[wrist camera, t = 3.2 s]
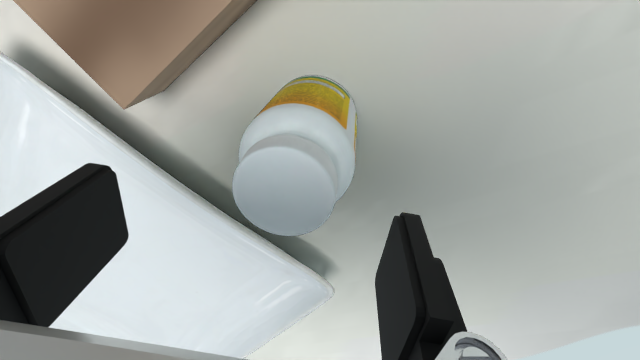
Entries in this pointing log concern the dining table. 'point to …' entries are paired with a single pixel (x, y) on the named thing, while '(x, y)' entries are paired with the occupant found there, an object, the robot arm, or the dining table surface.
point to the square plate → (152, 238)
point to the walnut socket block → (134, 38)
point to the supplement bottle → (297, 157)
